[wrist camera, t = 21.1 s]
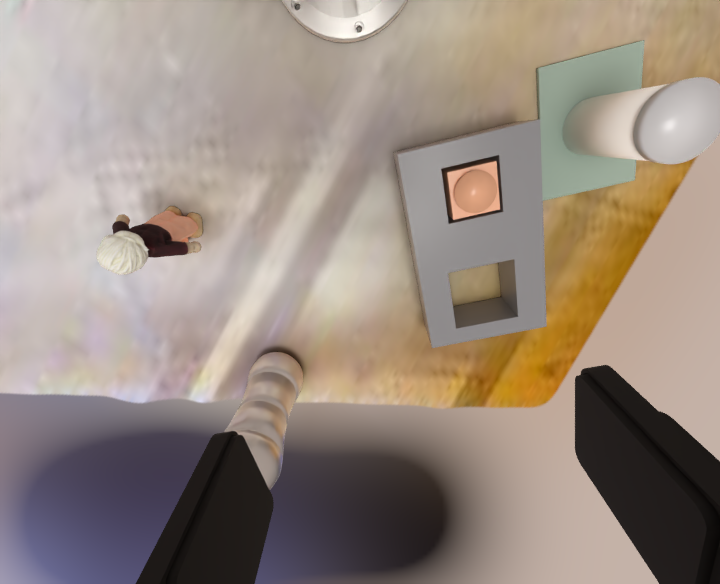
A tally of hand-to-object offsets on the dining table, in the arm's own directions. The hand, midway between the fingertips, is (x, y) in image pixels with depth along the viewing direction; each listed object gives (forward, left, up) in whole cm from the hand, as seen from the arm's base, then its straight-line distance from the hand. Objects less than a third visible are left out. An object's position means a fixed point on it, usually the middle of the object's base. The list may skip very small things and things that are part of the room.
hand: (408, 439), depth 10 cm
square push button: (-2, +9, -30) cm, 31 cm away
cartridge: (-4, +21, -30) cm, 37 cm away
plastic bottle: (+16, -16, -31) cm, 38 cm away
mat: (-4, +21, -30) cm, 37 cm away
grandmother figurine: (-4, -20, -31) cm, 37 cm away
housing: (+4, +9, -30) cm, 32 cm away
